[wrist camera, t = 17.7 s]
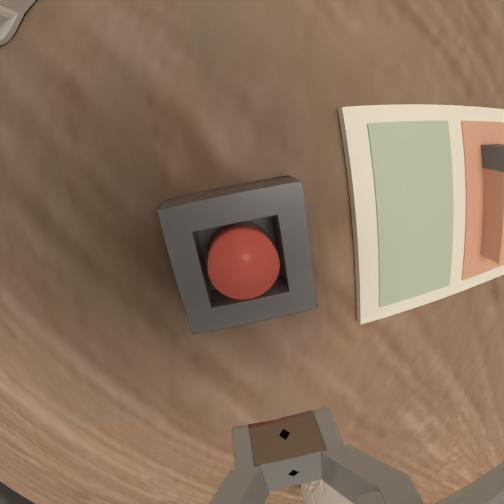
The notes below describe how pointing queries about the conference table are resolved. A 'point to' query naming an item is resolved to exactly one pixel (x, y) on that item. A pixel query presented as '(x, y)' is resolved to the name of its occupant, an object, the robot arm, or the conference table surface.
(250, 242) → the button
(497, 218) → the terracotta marker
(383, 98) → the conference table surface
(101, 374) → the conference table surface
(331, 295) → the conference table surface
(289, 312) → the button base
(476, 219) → the picture board
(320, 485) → the white cup
